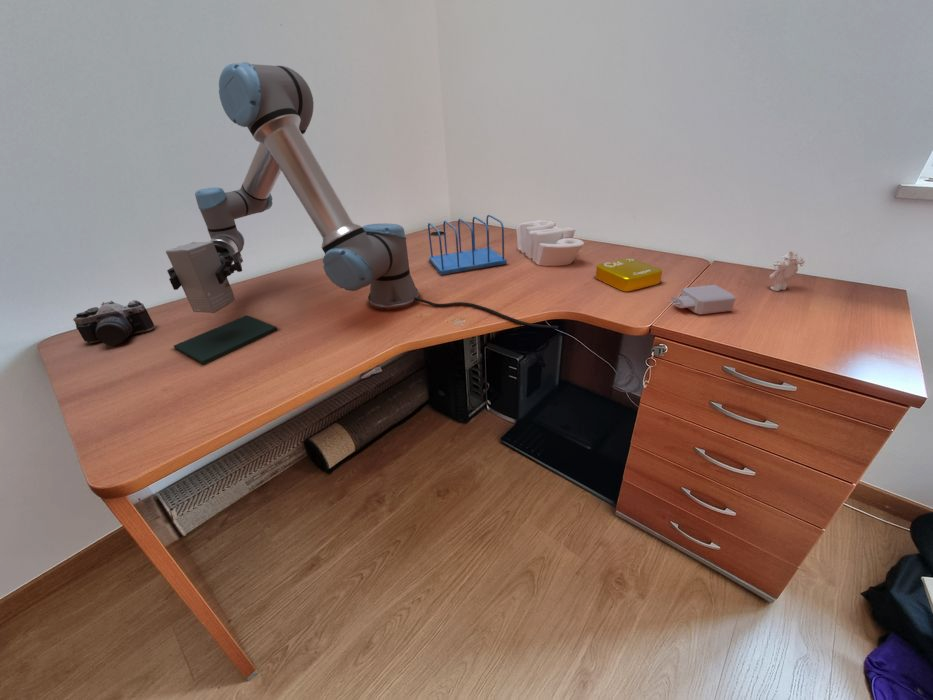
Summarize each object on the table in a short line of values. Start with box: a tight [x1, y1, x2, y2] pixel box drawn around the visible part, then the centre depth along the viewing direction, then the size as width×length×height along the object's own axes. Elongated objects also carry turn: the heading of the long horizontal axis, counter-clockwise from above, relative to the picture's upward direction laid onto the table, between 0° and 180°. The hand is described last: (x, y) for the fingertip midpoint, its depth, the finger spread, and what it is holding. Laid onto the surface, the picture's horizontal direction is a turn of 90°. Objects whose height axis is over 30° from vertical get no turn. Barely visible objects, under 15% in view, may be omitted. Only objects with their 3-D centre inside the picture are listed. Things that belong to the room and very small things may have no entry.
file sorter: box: [427, 214, 508, 276], centre depth 145 cm, size 25×17×15 cm
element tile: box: [595, 257, 663, 293], centre depth 126 cm, size 15×15×5 cm
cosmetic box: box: [165, 241, 237, 314], centre depth 97 cm, size 8×7×16 cm
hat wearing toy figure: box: [768, 250, 806, 292], centre depth 113 cm, size 9×4×12 cm, turn 103°
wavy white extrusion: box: [515, 219, 585, 267], centre depth 151 cm, size 35×16×11 cm, turn 12°
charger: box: [668, 284, 736, 315], centre depth 107 cm, size 5×9×15 cm
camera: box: [72, 299, 155, 346], centre depth 106 cm, size 16×10×10 cm, turn 117°
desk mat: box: [173, 315, 278, 365], centre depth 106 cm, size 15×20×1 cm
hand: (196, 281), depth 93 cm, fingers closed on cosmetic box, 9 cm apart
